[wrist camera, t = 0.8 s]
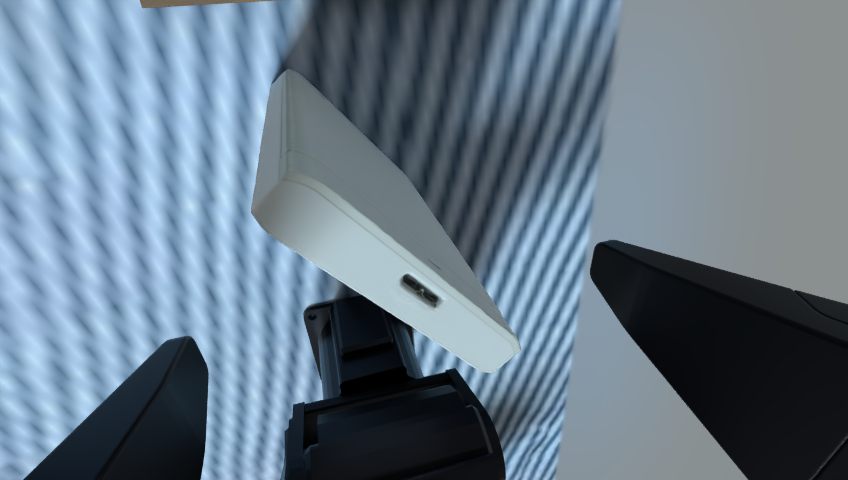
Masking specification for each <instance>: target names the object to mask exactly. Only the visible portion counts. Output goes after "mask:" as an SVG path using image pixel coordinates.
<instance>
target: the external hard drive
mask: <svg viewBox="0 0 848 480" xmlns="http://www.w3.org/2000/svg"><path fill="white" fill-rule="evenodd" d="M251 213H252V215H253V216H254V218H255V219H256V220H257V222H258V223H259V225H260V226H261V227H262V228H263V229H264V230H265V231H266V232H267V233H268V234H269V235H271V236H272V237H273V238H275V239H276V240H278V241H279V242H281V243H282V244H284V245H285V246H287V247H288V248H290V249H291V250H293V251H294V252H296V253H298V254H299V255H301V256H302V257H304V258H305V259H307V260H308V261H310V262H312V263H313V264H315V265H316V266H318V267H319V268H321V269H322V270H324V271H326V272H327V273H329V274H330V275H332V276H333V277H335V278H336V279H338V280H339V281H341V282H343V283H344V284H346V285H347V286H349V287H350V288H352V289H353V290H355V291H357V292H358V293H360V294H361V295H363V296H364V297H366V298H368V299H369V300H371V301H372V302H374V303H375V304H377V305H378V306H380V307H382V308H383V309H385V310H386V311H388V312H389V313H391V314H393V315H394V316H396V317H397V318H399V319H400V320H402V321H404V322H405V323H407V324H408V325H410V326H412V327H413V328H415V329H416V330H418V331H419V332H421V333H422V334H424V335H425V336H427V337H428V338H430V339H432V340H433V341H434V342H436V343H437V344H439V345H440V346H442V347H443V348H445V349H446V350H448V351H450V352H451V353H453V354H454V355H456V356H457V357H459V358H460V359H462V360H463V361H465V362H466V363H468V364H469V365H471V366H472V367H474V368H476V369H477V370H479V371H482V372H487V373H494V372H495V371H496V370H498V369H499V368H500V367H501V366H502V365H503V364H505V363H506V362H507V361H508V360H509V359H510V358H511V357H512V356H514V355H515V354H517V353H518V352H519V351H520V350H521V347H520V344H519V341H518V339H517V338H516V336H515V335H514V333H513V332H512V330H511V329H510V327H509V326H508V324H507V323H506V322H505V320H504V318H503V317H502V315H501V313H500V311H499V309H498V308H497V306H496V305H495V304H494V302H493V301H492V299H491V298H490V296H489V295H488V293H487V292H486V290H485V289H484V287H483V286H482V284H481V283H480V282H479V280H478V279H477V277H476V276H475V274H474V273H473V271H472V270H471V269H470V267H469V266H468V264H467V263H466V261H465V260H464V258H463V257H462V255H461V254H460V252H459V251H458V249H457V248H456V246H455V245H454V244H453V242H452V241H451V239H450V238H449V236H448V235H447V233H446V232H445V230H444V229H443V228H442V226H441V225H440V223H439V222H438V220H437V219H436V218H435V216H434V215H433V213H432V212H431V210H430V209H429V207H428V206H427V205H426V203H425V201H424V200H423V199H422V197H421V196H420V194H419V193H418V192H417V190H416V189H415V187H414V186H413V184H412V183H411V182H410V180H409V179H408V177H407V176H406V175H405V174H404V173H403V172H402V171H401V170H400V169H399V168H398V167H397V166H396V165H395V164H394V163H393V162H392V161H391V160H390V159H389V158H388V157H387V156H386V155H384V154H383V153H382V152H381V151H380V150H379V149H378V148H377V147H376V146H375V145H374V144H373V143H372V142H371V141H370V140H369V139H368V138H367V137H366V136H365V135H364V134H363V133H362V132H361V131H360V130H359V129H358V128H357V127H356V126H354V125H353V124H352V123H351V122H350V121H349V120H348V119H347V118H346V117H345V116H344V115H343V114H342V113H341V112H340V111H339V110H338V109H337V108H336V107H335V106H334V105H333V104H332V103H331V102H330V101H329V100H328V99H327V98H326V97H325V96H323V95H322V94H321V93H320V92H319V91H318V90H317V89H316V88H315V87H314V86H313V85H312V84H311V83H310V82H309V81H307V80H306V79H305V78H304V77H303V76H302V75H301V74H300V73H298V72H296V71H294V70H292V69H287V70H285V71H284V72H283V73H282V74H281V75H280V76H279V77H278V78H277V80H276V81H275V82H274V83H273V84H272V85H271V87H270V93H269V98H268V103H267V110H266V116H265V123H264V129H263V135H262V141H261V146H260V154H259V162H258V168H257V175H256V184H255V188H254V194H253V200H252V207H251Z"/></svg>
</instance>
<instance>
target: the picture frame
mask: <svg viewBox="0 0 848 480" xmlns="http://www.w3.org/2000/svg"><path fill="white" fill-rule="evenodd" d="M258 1H275V0H140V2H141V5H142V8H152V7H170V6H187V5H205V4H223V3H240V2H258Z"/></svg>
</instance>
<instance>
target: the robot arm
mask: <svg viewBox="0 0 848 480" xmlns="http://www.w3.org/2000/svg"><path fill="white" fill-rule="evenodd" d="M590 275H591V278H592V281H593V282H594V284H595V285H596V287H597V288H598V290H599V291H600V293H601V294H602V296H603V297H604V299H605V300H606V302H607V303H608V305H609V306H610V308H611V309H612V311H613V312H614V314H615V315H616V317H617V318H618V320H619V321H620V323H621V324H622V325H623V327H624V328H625V330H626V331H627V332H628V334H629V335H630V336H631V338H632V339H633V340H634V341H635V343H636V344H637V345H638V346H639V347H640V349H641V350H642V351H643V352H644V353H645V355H646V356H647V357H648V358H649V360H650V361H651V362H652V363H653V364H654V366H655V367H656V368H657V369H658V370H659V372H660V373H661V374H662V375H663V377H664V378H665V379H666V380H667V381H668V383H669V384H670V385H671V386H672V387H673V389H674V390H675V391H676V392H677V394H678V395H679V396H680V397H681V398H682V400H683V401H684V402H685V403H686V405H687V406H688V407H689V408H690V409H691V411H692V412H693V413H694V414H695V415H696V417H697V418H698V419H699V420H700V422H701V423H702V424H703V425H704V426H705V428H706V429H707V430H708V431H709V432H710V434H711V435H712V436H713V438H714V439H715V440H716V441H717V442H718V444H719V445H720V446H721V447H722V448H723V450H724V451H725V452H726V453H727V454H728V455H729V457H730V458H731V459H732V461H733V462H734V463H735V464H736V465H737V467H738V468H739V469H740V470H741V472H742V473H743V474H744V475H745V476H746V478H747V479H748V480H848V304H845V303H841V302H837V301H834V300H830V299H826V298H823V297H819V296H815V295H812V294H808V293H804V292H801V291H797V290H795V291H793V290H792V289H790V288H786V287H782V286H779V285H775V284H772V283H768V282H765V281H761V280H757V279H754V278H750V277H746V276H743V275H739V274H736V273H732V272H728V271H725V270H721V269H718V268H714V267H710V266H707V265H703V264H699V263H696V262H693V261H689V260H685V259H682V258H678V257H675V256H671V255H667V254H663V253H660V252H657V251H653V250H649V249H645V248H642V247H638V246H635V245H631V244H628V243H624V242H621V241H617V240H608V241H604V242H600V243H598V244H597V245H596V246H595V248H594V253H593V259H592V263H591V268H590ZM310 314H315V316H314V317H309V315H310ZM304 322H305V325H306V329H307V332H308V336H309V339H310V343H311V346H312V350H313V353H314V357H315V360H316V364H317V367H318V371H319V375H320V378H321V380H322V389H323V400H320V401H315V402H311V403H307V404H305V402H302V403H298V404H293V417H292V419H289V428H288V429H287V430H286V431H285V458H284V467H283V471H282V475H281V479H280V480H505V479H506V473H505V463H504V457H503V453H502V448H501V445H500V441H499V438H498V435H497V432H496V430H495V427H494V425H493V423H492V420H491V418H490V416H489V415H488V413H487V412H486V410H485V409H484V407H483V406H482V404H481V403H480V402H479V400H478V399H477V397H476V396H475V395H474V393H473V392H472V391H471V389H470V388H469V386H468V385H467V384H466V382H465V381H464V379H463V378H462V377H461V375H460V374H459V373H458V371H457V370H456V368H453V369H448V370H446V371H445V372H443V373H439V374H434V375H430V376H426V377H424V376H423V373H422V371H421V368H420V365H419V362H418V359H417V357H416V354H415V351H414V348H413V341H412V330H411V326H410V325H408V324H407V323H405V322H404V321H402V320H400V319H399V318H397V317H396V316H394V315H393V314H391V313H389V312H388V311H386V310H385V309H383V308H382V307H380V306H378V305H377V304H375V303H374V302H372V301H371V300H369V299H368V298H366V297H364V296H363V295H361V296H357V297H352V298H348V299H343V300H339V301H336V302H333V303H329V304H324V305H320V306H315V307H311V308H308V309H306V310H305V311H304ZM207 399H208V368H207V364H206V362H205V360H204V358H203V356H202V354H201V352H200V350H199V348H198V346H197V344H196V342H195V340H194V339H193V338H192V337H190V336H183V337H179V338H175V339H170V340H167V341H166V342H164V343H163V344H162V345H161V346H160V347H159V348H158V349H157V350H156V351H155V352H154V353H153V354H152V355H151V356H150V357H149V358H148V359H147V360H146V361H145V362H144V363H143V364H142V365H141V366H140V367H139V368H137V369H136V370H135V371H134V372H133V373H132V374H131V375H130V376H129V377H128V378H127V379H126V380H125V381H124V382H123V383H122V384H121V385H120V386H119V387H118V388H117V389H116V390H115V391H114V392H113V393H112V394H111V395H110V396H109V397H108V398H107V399H106V400H105V401H104V402H103V403H102V404H101V405H99V406H98V407H97V408H96V409H95V410H94V411H93V412H92V413H91V414H90V415H89V416H88V417H87V418H86V419H85V420H84V421H83V422H82V423H81V424H80V425H79V426H78V427H77V428H76V429H75V430H74V431H73V432H72V433H71V434H70V435H69V436H68V437H67V438H66V439H65V440H64V441H62V442H61V443H60V444H59V445H58V446H57V447H56V448H55V449H54V450H53V451H52V452H51V453H50V454H49V455H48V456H47V457H46V458H45V459H44V460H43V461H42V462H41V463H40V464H39V465H38V466H37V467H36V468H35V469H34V470H33V471H32V472H31V473H30V474H29V475H28V476H27V477H25V478H24V479H23V480H200V479H201V473H202V467H203V460H204V453H205V442H206V422H207Z"/></svg>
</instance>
